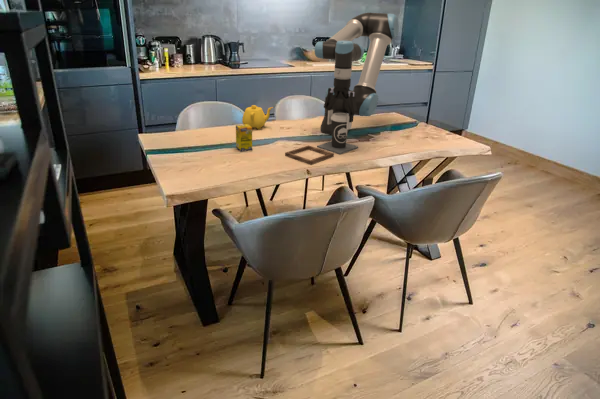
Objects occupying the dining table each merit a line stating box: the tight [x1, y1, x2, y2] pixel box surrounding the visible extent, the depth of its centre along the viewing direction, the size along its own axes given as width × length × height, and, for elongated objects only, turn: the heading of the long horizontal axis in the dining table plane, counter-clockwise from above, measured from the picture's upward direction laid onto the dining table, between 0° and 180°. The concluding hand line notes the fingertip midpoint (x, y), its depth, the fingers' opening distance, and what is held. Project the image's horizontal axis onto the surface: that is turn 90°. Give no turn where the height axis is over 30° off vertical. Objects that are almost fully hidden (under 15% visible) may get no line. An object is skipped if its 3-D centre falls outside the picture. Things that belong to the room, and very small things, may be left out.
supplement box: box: [235, 124, 253, 152], centre depth 199 cm, size 6×6×11 cm
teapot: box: [241, 104, 274, 130], centre depth 232 cm, size 14×14×12 cm
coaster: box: [316, 140, 360, 155], centre depth 207 cm, size 14×14×1 cm
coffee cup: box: [331, 113, 350, 148], centre depth 204 cm, size 10×10×15 cm
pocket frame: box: [284, 145, 335, 166], centre depth 195 cm, size 15×15×2 cm
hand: (339, 126), depth 203 cm, fingers open, 11 cm apart
